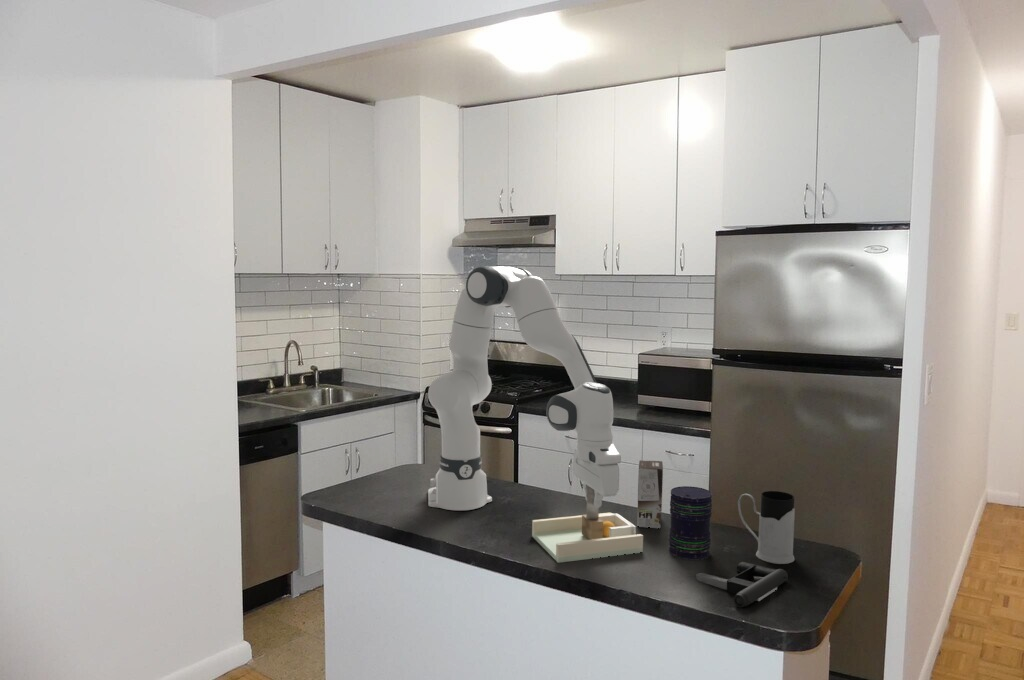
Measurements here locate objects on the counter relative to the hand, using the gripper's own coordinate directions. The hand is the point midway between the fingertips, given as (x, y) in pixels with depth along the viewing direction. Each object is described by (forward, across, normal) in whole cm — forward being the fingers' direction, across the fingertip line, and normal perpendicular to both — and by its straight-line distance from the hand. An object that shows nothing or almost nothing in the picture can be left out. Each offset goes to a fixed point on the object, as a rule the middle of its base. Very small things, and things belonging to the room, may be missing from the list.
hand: (593, 503), depth 186 cm
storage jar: (+10, +12, +20) cm, 26 cm away
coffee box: (+10, -10, +21) cm, 26 cm away
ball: (+7, 0, +4) cm, 8 cm away
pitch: (+10, 0, -2) cm, 10 cm away
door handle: (+11, +32, +20) cm, 39 cm away
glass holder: (+10, +18, +37) cm, 43 cm away
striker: (+9, 0, 0) cm, 9 cm away
